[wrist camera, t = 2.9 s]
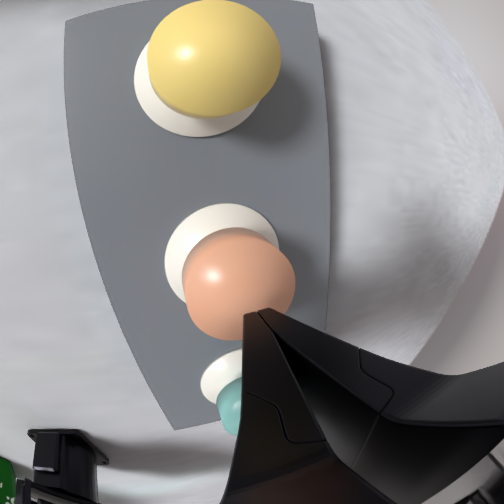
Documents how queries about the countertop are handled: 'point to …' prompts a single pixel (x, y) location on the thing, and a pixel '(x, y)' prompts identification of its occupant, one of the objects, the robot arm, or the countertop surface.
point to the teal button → (230, 406)
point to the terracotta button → (234, 280)
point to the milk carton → (7, 483)
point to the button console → (194, 188)
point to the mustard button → (212, 59)
